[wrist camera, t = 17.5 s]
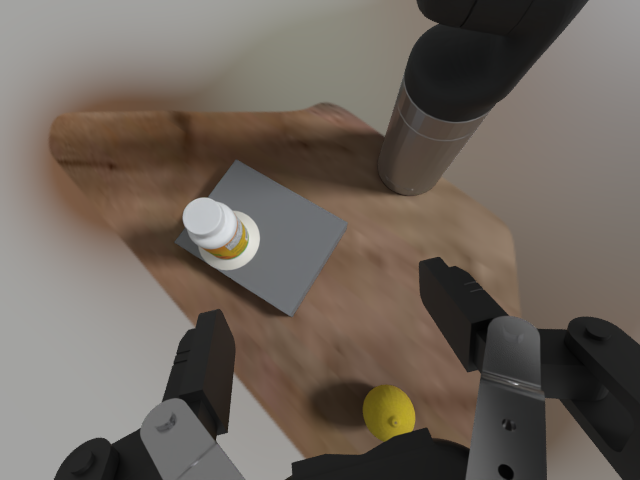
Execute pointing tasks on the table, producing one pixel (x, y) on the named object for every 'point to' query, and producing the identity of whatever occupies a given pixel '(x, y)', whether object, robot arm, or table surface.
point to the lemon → (388, 412)
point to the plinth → (272, 237)
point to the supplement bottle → (215, 228)
